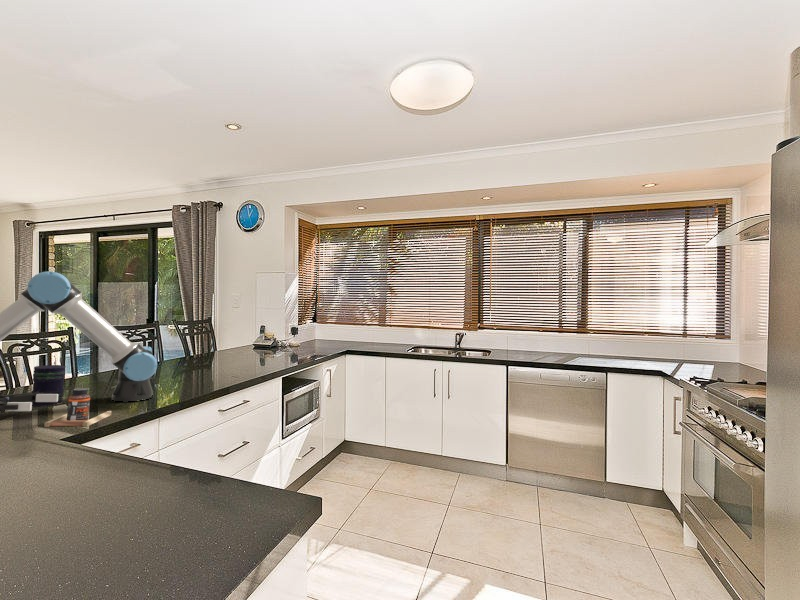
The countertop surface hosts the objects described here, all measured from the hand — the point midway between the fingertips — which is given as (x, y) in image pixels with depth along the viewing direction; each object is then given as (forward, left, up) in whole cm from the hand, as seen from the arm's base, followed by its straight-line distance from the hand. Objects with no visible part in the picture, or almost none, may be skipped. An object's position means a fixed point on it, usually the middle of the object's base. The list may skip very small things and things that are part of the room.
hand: (45, 402), depth 137 cm
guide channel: (-2, +10, -7) cm, 12 cm away
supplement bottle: (0, +10, -7) cm, 12 cm away
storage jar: (-28, -15, -7) cm, 32 cm away
